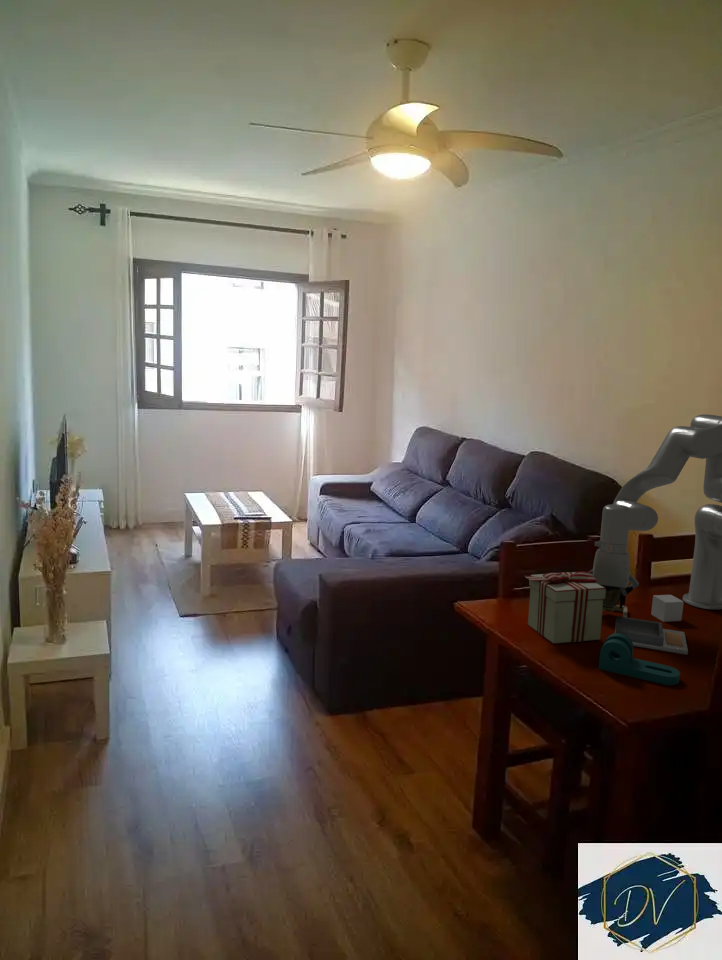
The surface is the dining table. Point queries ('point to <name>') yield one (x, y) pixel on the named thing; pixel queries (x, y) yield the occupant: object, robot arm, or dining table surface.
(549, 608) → the gift box
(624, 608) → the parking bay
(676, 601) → the white cube
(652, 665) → the bracket
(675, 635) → the grey flat rectangular tray
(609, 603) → the cup
